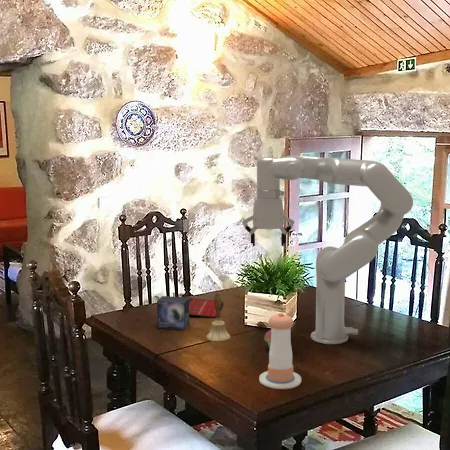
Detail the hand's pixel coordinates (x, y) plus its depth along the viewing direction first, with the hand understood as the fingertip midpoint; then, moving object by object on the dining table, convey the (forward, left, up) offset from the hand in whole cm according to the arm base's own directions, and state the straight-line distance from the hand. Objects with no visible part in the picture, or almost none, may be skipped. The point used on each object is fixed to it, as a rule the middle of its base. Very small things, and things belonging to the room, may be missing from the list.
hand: (268, 245), depth 212 cm
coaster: (-3, +36, -32) cm, 48 cm away
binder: (+26, -32, -33) cm, 53 cm away
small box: (+34, -11, -33) cm, 48 cm away
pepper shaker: (-3, +36, -32) cm, 48 cm away
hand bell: (+17, 0, -32) cm, 37 cm away
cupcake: (-3, +12, -32) cm, 35 cm away
